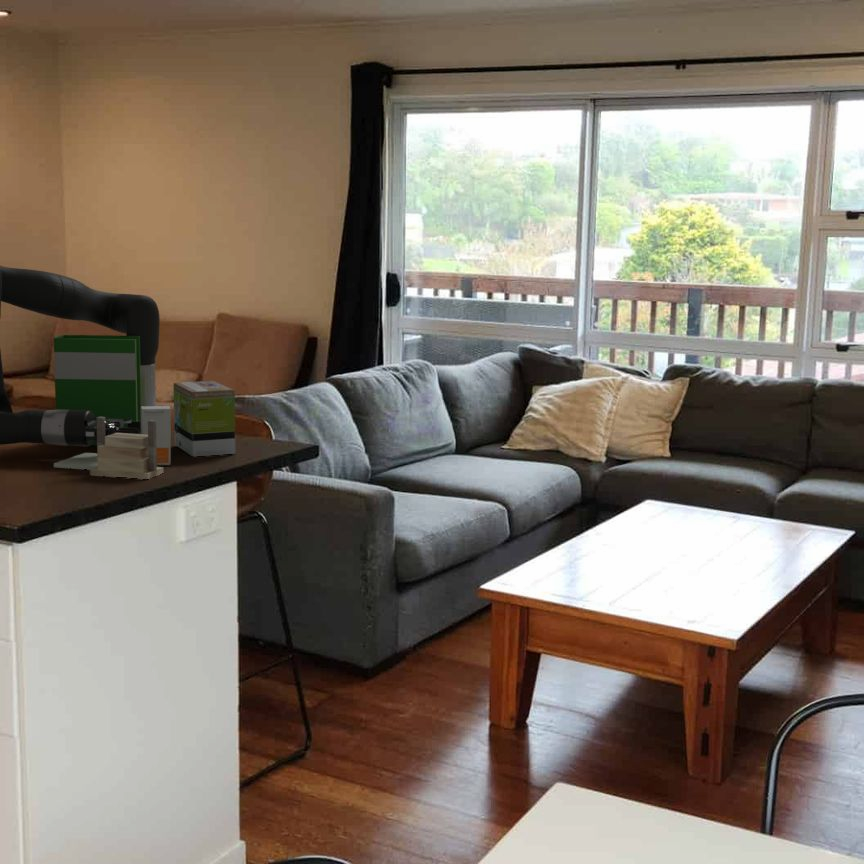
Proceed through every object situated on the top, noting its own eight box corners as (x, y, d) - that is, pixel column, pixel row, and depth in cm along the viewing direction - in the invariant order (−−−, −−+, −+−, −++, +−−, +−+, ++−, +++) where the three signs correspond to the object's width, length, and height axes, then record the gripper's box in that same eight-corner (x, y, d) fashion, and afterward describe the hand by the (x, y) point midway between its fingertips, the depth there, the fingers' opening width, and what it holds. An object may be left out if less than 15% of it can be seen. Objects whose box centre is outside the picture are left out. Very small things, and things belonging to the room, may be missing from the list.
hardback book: (141, 439, 280) (139, 335, 276) (136, 445, 273) (134, 339, 269) (63, 438, 279) (60, 334, 274) (56, 444, 272) (53, 338, 267)
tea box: (172, 446, 274) (172, 381, 272) (215, 443, 279) (215, 380, 276) (191, 458, 261) (191, 389, 258) (236, 455, 265) (236, 388, 263)
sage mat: (85, 456, 259) (85, 452, 259) (124, 459, 257) (124, 455, 257) (53, 467, 247) (53, 463, 247) (94, 470, 245) (94, 466, 245)
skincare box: (141, 466, 250) (140, 408, 248) (140, 462, 254) (140, 405, 252) (171, 465, 252) (171, 408, 250) (170, 461, 256) (169, 405, 254)
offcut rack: (107, 469, 246) (106, 414, 244) (163, 473, 244) (163, 418, 242) (90, 475, 240) (88, 419, 238) (147, 479, 237) (147, 423, 235)
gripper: (55, 414, 245) (134, 417, 244) (79, 405, 259) (154, 407, 258) (56, 451, 246) (135, 454, 245) (80, 439, 260) (154, 442, 260)
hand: (144, 430), depth 252 cm, fingers open, 8 cm apart
